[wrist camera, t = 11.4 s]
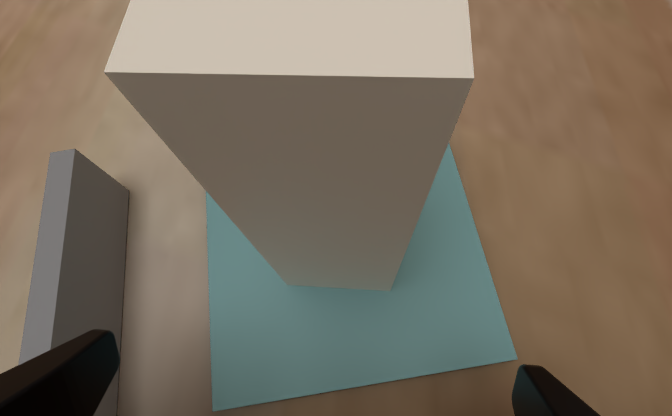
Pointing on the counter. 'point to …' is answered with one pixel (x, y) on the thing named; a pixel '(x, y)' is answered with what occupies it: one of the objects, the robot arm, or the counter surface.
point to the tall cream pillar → (305, 118)
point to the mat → (353, 312)
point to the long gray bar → (78, 261)
